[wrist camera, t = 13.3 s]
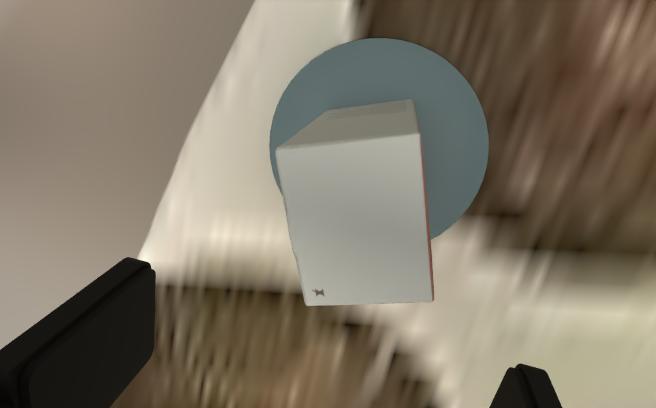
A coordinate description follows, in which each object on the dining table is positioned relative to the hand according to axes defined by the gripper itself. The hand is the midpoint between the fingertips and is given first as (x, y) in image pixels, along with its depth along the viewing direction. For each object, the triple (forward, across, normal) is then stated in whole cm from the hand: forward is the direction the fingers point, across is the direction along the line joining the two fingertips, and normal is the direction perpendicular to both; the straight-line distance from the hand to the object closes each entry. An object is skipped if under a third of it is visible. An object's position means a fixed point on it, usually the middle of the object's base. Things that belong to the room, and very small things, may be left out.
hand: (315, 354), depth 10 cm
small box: (+21, 0, 0) cm, 21 cm away
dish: (+22, 0, 0) cm, 22 cm away
